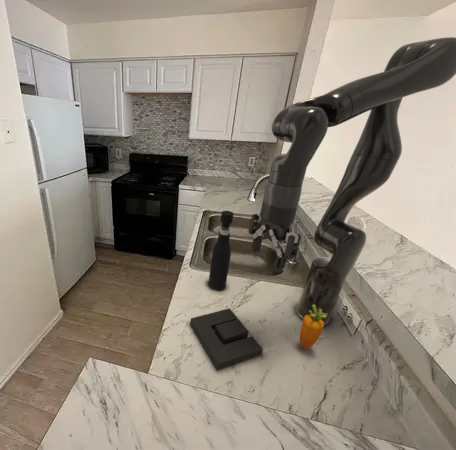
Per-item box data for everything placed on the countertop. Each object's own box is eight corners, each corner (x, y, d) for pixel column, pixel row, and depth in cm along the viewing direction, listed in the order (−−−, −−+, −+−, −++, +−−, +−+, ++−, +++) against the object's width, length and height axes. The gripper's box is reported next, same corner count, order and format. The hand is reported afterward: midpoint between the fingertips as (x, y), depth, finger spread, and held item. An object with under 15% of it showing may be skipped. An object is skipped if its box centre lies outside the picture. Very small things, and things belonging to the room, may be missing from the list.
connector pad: (236, 327, 79) (238, 319, 77) (246, 340, 75) (249, 331, 73) (214, 333, 76) (215, 325, 75) (223, 347, 72) (224, 339, 71)
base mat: (228, 313, 84) (229, 308, 83) (261, 355, 70) (263, 348, 69) (190, 324, 80) (190, 318, 79) (217, 370, 66) (218, 363, 65)
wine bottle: (209, 290, 94) (219, 216, 81) (207, 279, 100) (216, 208, 87) (227, 291, 94) (239, 217, 81) (223, 280, 100) (235, 209, 87)
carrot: (316, 357, 70) (333, 317, 63) (296, 354, 71) (311, 314, 64) (310, 342, 74) (325, 303, 68) (291, 339, 75) (305, 300, 68)
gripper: (319, 210, 54) (299, 272, 61) (271, 190, 66) (259, 244, 73) (291, 214, 52) (274, 278, 59) (247, 192, 64) (237, 248, 71)
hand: (266, 259), depth 66 cm, fingers open, 8 cm apart
